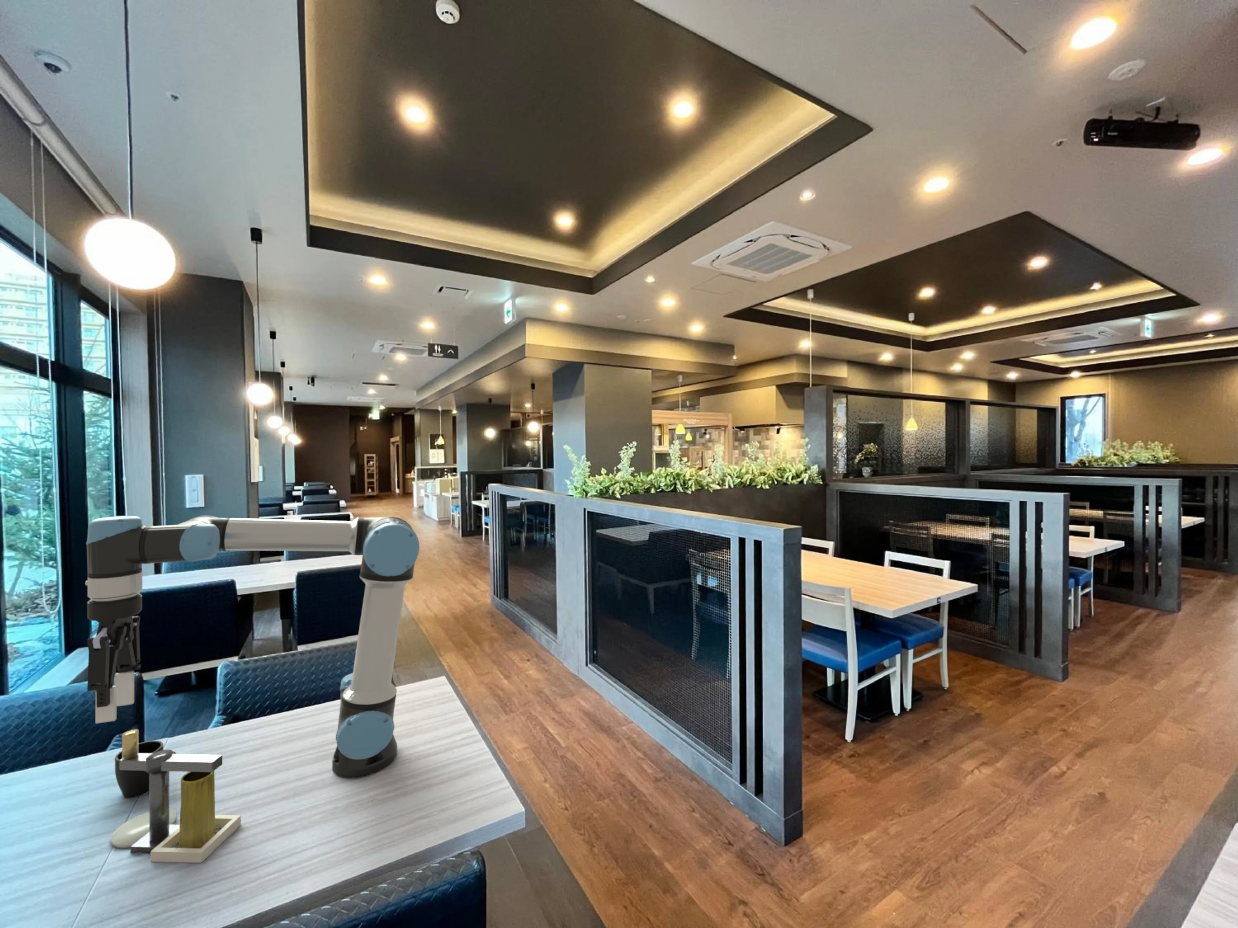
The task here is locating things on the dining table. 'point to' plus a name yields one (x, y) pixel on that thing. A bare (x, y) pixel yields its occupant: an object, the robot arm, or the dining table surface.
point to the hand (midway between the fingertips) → (115, 712)
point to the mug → (136, 772)
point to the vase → (197, 809)
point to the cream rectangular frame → (195, 855)
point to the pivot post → (156, 814)
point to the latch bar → (163, 758)
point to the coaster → (135, 830)
